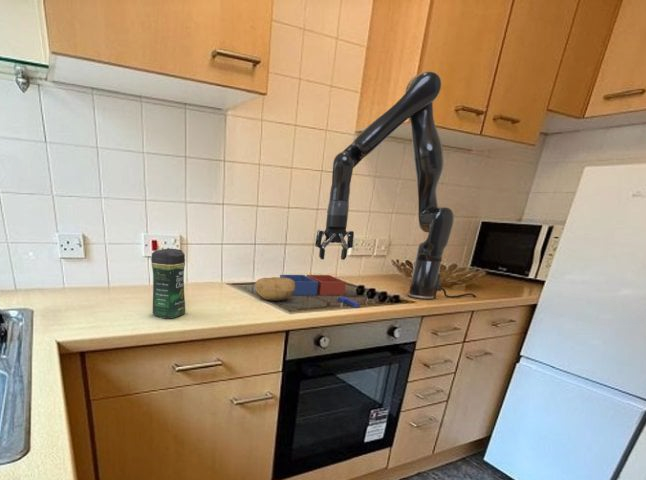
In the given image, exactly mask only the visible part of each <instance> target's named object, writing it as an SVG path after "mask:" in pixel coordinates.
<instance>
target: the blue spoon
mask: <svg viewBox="0 0 646 480" xmlns="http://www.w3.org/2000/svg"><path fill="white" fill-rule="evenodd" d="M337 301H338V302H339V303H344V304H347V305H349V306H350V307H353V308H359V305H360V303H359V302H357V301H355V300H353V299H351V298H350V297H348V296H338V299H337Z"/></svg>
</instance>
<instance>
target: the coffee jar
mask: <svg viewBox="0 0 646 480" xmlns="http://www.w3.org/2000/svg"><path fill="white" fill-rule="evenodd" d="M185 255H186V254H185V252H184V251H183V250H181V249H177V248H162V249H158V250H156V249H155V250H154V251H153V252H152V253H151V260H150V261H151V262H150V264H151V269H152V315H153V316H155V317H157V318H161V319H165V318H167V319H168V318H170V319H175V318H177V317H180V316H182V315H184V314H185V313H186V296H185V267H186V256H185Z"/></svg>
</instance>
